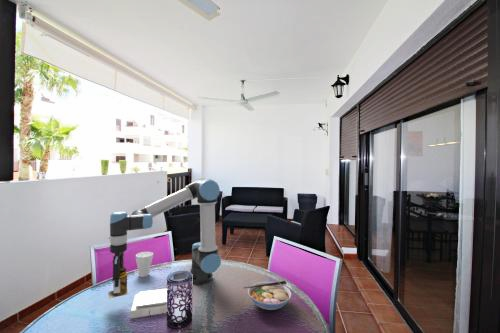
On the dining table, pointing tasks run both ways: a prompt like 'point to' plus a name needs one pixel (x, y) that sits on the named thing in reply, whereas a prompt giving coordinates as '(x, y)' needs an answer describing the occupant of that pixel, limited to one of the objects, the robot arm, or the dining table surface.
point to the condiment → (122, 285)
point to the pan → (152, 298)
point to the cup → (144, 263)
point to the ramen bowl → (269, 294)
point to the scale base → (146, 309)
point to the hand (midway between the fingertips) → (118, 289)
